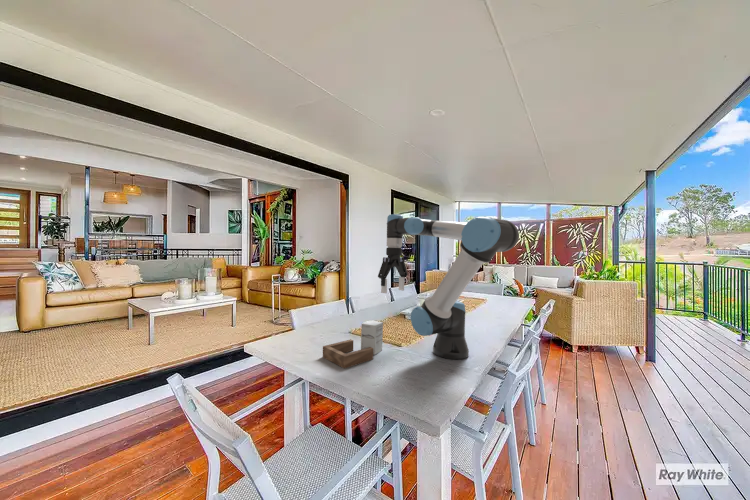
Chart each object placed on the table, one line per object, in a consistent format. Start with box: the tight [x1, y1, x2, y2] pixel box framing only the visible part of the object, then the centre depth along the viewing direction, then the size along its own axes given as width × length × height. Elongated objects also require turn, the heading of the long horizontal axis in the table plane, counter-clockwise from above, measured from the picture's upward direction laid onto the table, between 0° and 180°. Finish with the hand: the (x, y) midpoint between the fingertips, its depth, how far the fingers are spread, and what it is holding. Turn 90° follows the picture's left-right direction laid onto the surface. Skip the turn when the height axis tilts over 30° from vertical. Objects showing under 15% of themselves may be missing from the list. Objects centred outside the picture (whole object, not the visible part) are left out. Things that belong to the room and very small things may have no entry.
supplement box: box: [360, 320, 384, 356], centre depth 128 cm, size 7×7×13 cm
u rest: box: [322, 338, 374, 370], centre depth 119 cm, size 15×14×4 cm
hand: (392, 291), depth 139 cm, fingers open, 13 cm apart
